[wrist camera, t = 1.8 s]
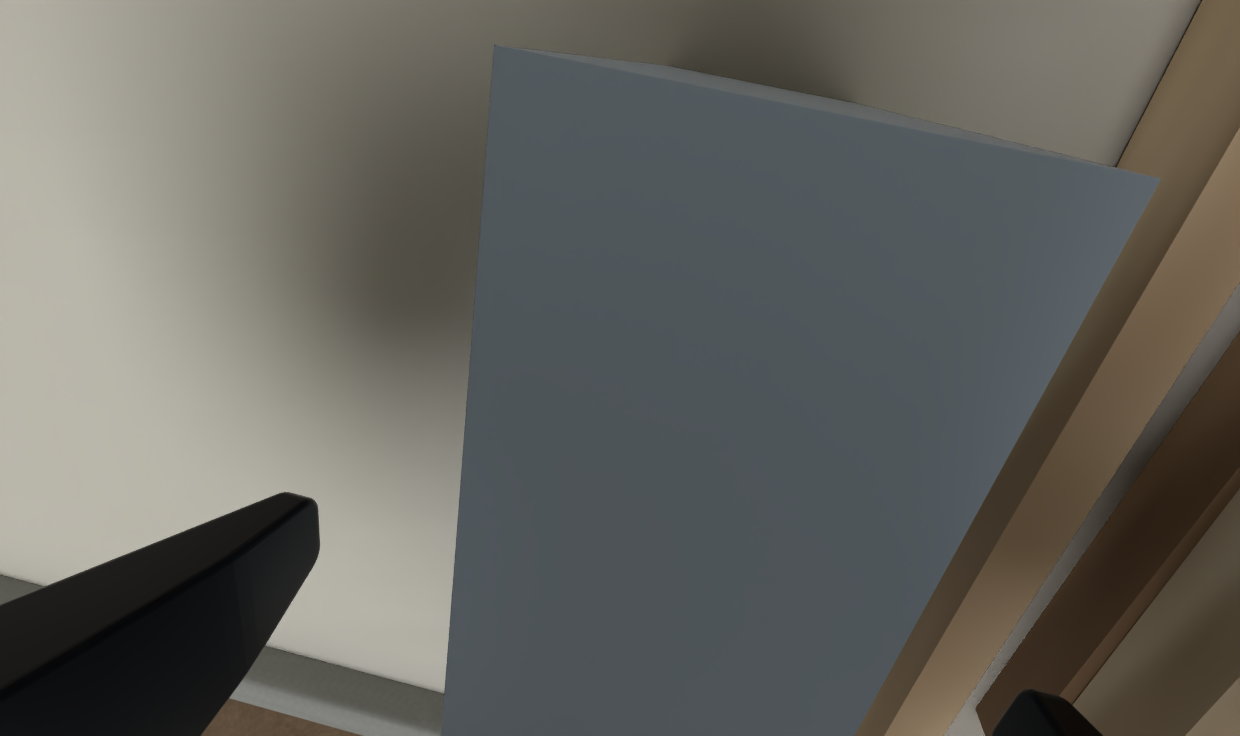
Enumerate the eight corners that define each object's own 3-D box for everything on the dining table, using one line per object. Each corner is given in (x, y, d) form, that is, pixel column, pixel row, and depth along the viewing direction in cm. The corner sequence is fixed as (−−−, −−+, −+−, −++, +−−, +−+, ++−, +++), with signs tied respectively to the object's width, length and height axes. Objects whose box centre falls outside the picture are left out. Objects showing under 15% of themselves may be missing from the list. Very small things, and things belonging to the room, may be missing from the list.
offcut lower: (1577, 162, 9) (1785, 184, 7) (1095, 724, 15) (1145, 814, 13) (1357, 116, 9) (1507, 127, 7) (967, 688, 15) (999, 772, 13)
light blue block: (855, 102, 10) (1160, 179, 3) (686, 632, 15) (637, 1127, 8) (668, 65, 10) (493, 43, 3) (566, 599, 15) (416, 1054, 8)
